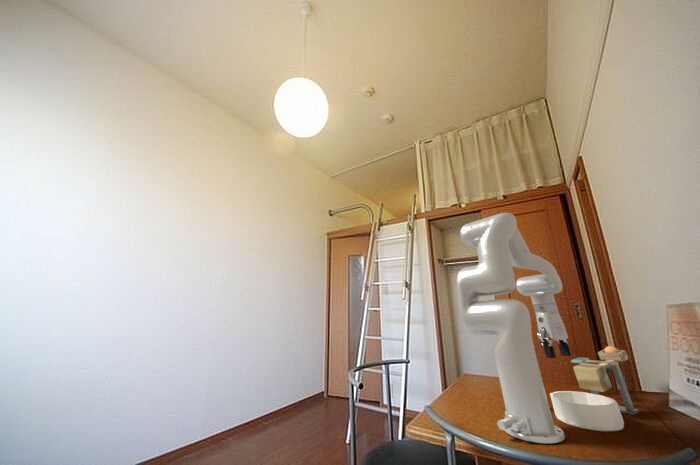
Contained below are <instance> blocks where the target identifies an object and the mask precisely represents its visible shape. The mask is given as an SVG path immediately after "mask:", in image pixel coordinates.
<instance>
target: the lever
mask: <svg viewBox="0 0 700 465" xmlns="http://www.w3.org/2000/svg"><path fill="white" fill-rule="evenodd" d="M618 350H619V353H608V352H605V348H604V349H602V350H600V351H598V352H597V355H598V357H599V359H600V360H595V359H590V358H589V357H581V356H578V357H576V358H573V359H571V360H570V363H573V364H576V365H573V368H572V369H573V372H574V374H575V377H576V380H577V384H578V387H579V389H583V390H588V391H590V390H594V391H598V392H602V393H604V392H606V391H608V390H610V389H612V387H613V386H612V384H611V381H610V378H609V375H608V373H607V371H613V370H612V367H611V365H613V364H616V363H618V362H619V363H624V362H627V361H628V360H629V355H628V354H627V351H626V349H625V350H623V349H618ZM584 361H585V362H589V364H585V363H582V362H584Z"/></svg>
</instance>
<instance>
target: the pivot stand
mask: <svg viewBox="0 0 700 465" xmlns="http://www.w3.org/2000/svg"><path fill="white" fill-rule="evenodd" d="M582 363H585V364H590V363H589V362H585V361H584V362H582ZM610 366H611V367H612V370H611V371H612V372H613V375H614V378H615V381H616V384H617V386H618V390H619V393H620V396H621V399H622V402H623V406H622V405H619V404H618V406H619V409H620V412H621V414H626V415H632V416H634V415H636V414H638V413H640V410H639V409H638V408H635V407H634V404H633V402H632V399H631V396H630V392H629V390H628V387H627V384H626V381H625V378H624V375H623V373H622V369H621V367H620V364H616V363H614V364H612V365H610ZM589 392H590V393H592V394H597V395H600V393H599V391H594V390H589Z"/></svg>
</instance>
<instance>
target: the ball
mask: <svg viewBox="0 0 700 465" xmlns="http://www.w3.org/2000/svg"><path fill="white" fill-rule="evenodd" d="M604 349H605V352H608V353H619V350H620V349H618V348H617V347H614V346H612V345H608V346H605V348H604Z"/></svg>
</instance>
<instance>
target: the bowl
mask: <svg viewBox="0 0 700 465" xmlns="http://www.w3.org/2000/svg"><path fill="white" fill-rule="evenodd" d="M549 396H550V400H551V403H552V407H553V408H552V409H553V411H554V414H555V418H556V419H557V420H558V421H560V422H562V423H564V424H567V425H569V426H572V427H576V428H580V429H586V430H589V431H596V432H597V431H598V432H618V431H622V430H624V429H625V421H624V418H623V415H622V413H621V412H620V409H619V406H620V405H619V403H618V402H617V401H616V400H615V399H614V398H611V397H608V396H605V395H601V394H599V395H597V394H592V393H591V392H590V393H589V392H584V391H574V390H573V391H572V390H567V391H566V390H562V391H561V390H560V391H553V392H550V393H549ZM618 405H619V406H618Z"/></svg>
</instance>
